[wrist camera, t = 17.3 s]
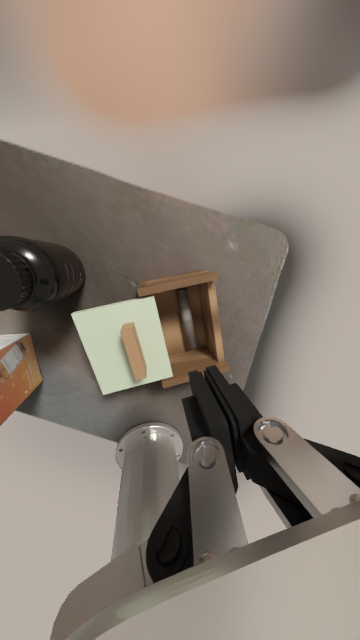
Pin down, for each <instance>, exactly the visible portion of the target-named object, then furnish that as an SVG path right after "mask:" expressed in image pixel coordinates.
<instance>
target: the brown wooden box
mask: <svg viewBox="0 0 360 640" xmlns="http://www.w3.org/2000/svg"><path fill="white" fill-rule="evenodd" d="M214 280H218V274H217V272H210V271H203V270H198V271H193V272H188V273H183V274H179V275H174V276H169V277H164V278H160V279H155V280H150V281H145V282H141V283H140V284H139V286H138V288H137V292H138V296H139V297H140V298H141V297H145V296H150V295H154V298H155V302H156V306H157V311H158V315H159V319H160V323H161V327H162V331H163V336H164V340H165V344H166V348H167V352H168V357H169V361H170V365H171V369H172V373H173V377H169V378H166V379H162V386H163V389H164V388H167V387H171V386H175V385H178V384H182V383H186V382H189V381H190V380H189V376H188V372H191V371H195V370H197V371H198V372H202V374H203V376H204V372H203V371H204V370H206V367H209V366H212V365H216V366H217V368H218V369H219V371H220V372H221V373H223V372H227V371H229V366H228V364H227V363H226V362H225V361H224V354H223V346H222V338H221V330H220V322H219V314H218V307H217V299H216V291H215V283H214Z"/></svg>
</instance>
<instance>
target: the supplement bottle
mask: <svg viewBox="0 0 360 640" xmlns="http://www.w3.org/2000/svg"><path fill="white" fill-rule="evenodd" d="M84 278H85V272H84V268H83V265H82V263H81V261H80V259H79V258H78V257H77V255H76V254H75V253H73V252H72V251H71V250H69V249H68V248H66V247H64V246H61V245H58V244H54V243H49V242H43V241H38V240H33V239H27V238H22V237H16V236H0V311H4V310H7V309H8V310H12V311H17V312H33V311H37V310H40V309H43V308H45V307H48V306H50V305H52V304H54V303H56V302H58V301H60V300H63V299H65V298H67V297H69V296H71V295H73V294H74V293H76V292H77V291H78V290H79V289H80V288H81V286H82V285H83V282H84Z"/></svg>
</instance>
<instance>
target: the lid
mask: <svg viewBox="0 0 360 640" xmlns="http://www.w3.org/2000/svg"><path fill="white" fill-rule="evenodd" d="M71 316H72V318H73V321H74V323H75V326H76V328H77V331H78V333H79V336H80V338H81V341H82V343H83V346H84V348H85V351H86V353H87V356H88V358H89V361H90V363H91V366H92V368H93V371H94V373H95V376H96V378H97V381H98V383H99V386H100V388H101V391H102V393H103V395H105V394H109V393H113V392H117V391H120V390H124V389H128V388H132V387H135V386H139V385H143V384H147V383H151V382H154V381H158V380H162V379H166V378H169V377H173V373H172V369H171V365H170V361H169V357H168V352H167V348H166V344H165V340H164V336H163V331H162V327H161V323H160V319H159V315H158V311H157V306H156V302H155V298H154V295H150V296H145V297H141V298H136V299H131V300H127V301H122V302H118V303H113V304H109V305H104V306H99V307H95V308H90V309H86V310H81V311H76V312H73V313H72V314H71Z"/></svg>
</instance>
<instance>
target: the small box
mask: <svg viewBox="0 0 360 640" xmlns="http://www.w3.org/2000/svg"><path fill="white" fill-rule="evenodd" d="M42 381H43V378H42V375H41V372H40V369H39V366H38V362H37V358H36V354H35V350H34V347H33V343H32V338H31V335H30V333H24V334H9V335H0V425H2V423H3V422H4V421H5V420H6V419H7V418H8V417H9V416H10V415H11V414H12V413H13V412H14V411H15V410H16V409H17V408H18V406H19V405H20V404H21V403H22V402H23V401H24V400H25V399H26V398H27V397H28V396H29V395H30V394H31V393H32V392H33V390H34V389H35V388H36V387H37V386H38V385H39V384H40V383H41V382H42Z"/></svg>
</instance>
